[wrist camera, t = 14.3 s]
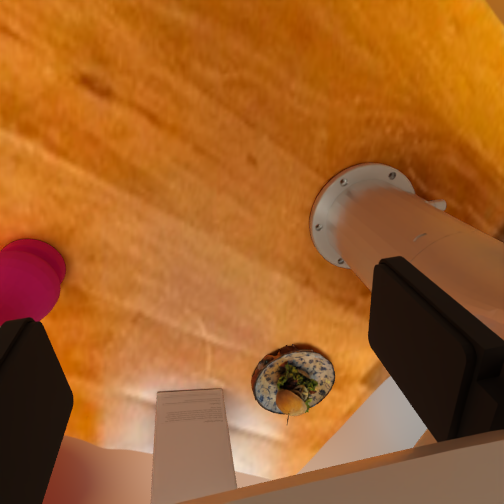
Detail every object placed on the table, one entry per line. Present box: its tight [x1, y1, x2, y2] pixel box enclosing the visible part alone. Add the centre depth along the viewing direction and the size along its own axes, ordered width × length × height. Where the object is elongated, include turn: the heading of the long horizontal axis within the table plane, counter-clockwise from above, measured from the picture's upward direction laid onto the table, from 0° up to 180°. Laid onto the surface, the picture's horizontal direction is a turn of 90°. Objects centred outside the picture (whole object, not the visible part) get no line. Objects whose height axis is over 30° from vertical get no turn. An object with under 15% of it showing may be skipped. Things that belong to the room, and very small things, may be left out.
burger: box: [251, 344, 335, 423], centre depth 48 cm, size 12×12×8 cm
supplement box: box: [151, 389, 237, 504], centre depth 44 cm, size 9×9×15 cm
